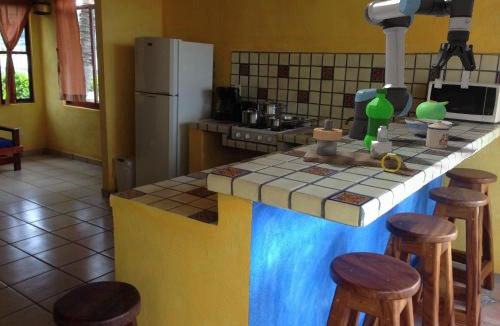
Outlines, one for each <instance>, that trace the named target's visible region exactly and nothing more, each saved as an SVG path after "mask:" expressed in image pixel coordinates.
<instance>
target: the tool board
mask: <svg viewBox="0 0 500 326" xmlns="http://www.w3.org/2000/svg"><path fill="white" fill-rule="evenodd" d="M333 122H334V121H333V120H332V119H324V127H323V128H324V131H332V128H333ZM316 141H317V143H316V148H307V150H306V152H305V154H304V156H303V162H313V163H324V164H338V165H351V166H365V167H374V168H375V167H376V168H377V167H378V168H382V165H381V161H382V160H376V159H371V158H370V152H356V151H354V152H353V151H342V150H338V140H334V141H331V140H320V139H316ZM396 156H397V157H399V159H400V161H401V166H400V168H399V170H401V169H403V170H404V169H405V163H404V160H403V159H402V156H401V155H397V154H396ZM398 163H399V162H398V160H397V159H396V158H395V157H391V159H390V160H384V167H385V168H386V169H388V168H389V169H397V168H398Z"/></svg>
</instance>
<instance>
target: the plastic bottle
mask: <svg viewBox="0 0 500 326" xmlns="http://www.w3.org/2000/svg"><path fill="white" fill-rule="evenodd" d="M375 89H376V93H377V98H375V99H374V100H372V101H371V102H370V103H369V104H368V105H367V107H366V114H367V116H368V117H369V119H368V130H367V135H366V137H365V139H364V140H363V144H364V147H365V148H366V149H367V150H368V151H369V152H370V149H371V141H372V140H377V137H378V129H379V128H380V126H386V129H388V131H387V141H390V139H389V136H388V135H389V133H388V132H389V125H390V118H391V117H393V116H392V115H393V111H394V108H393V105H392V104H391V103H390V102H389V101H388V100H387V99H386V98H385V94H387V89H382V88H375Z"/></svg>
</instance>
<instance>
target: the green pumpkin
mask: <svg viewBox="0 0 500 326" xmlns="http://www.w3.org/2000/svg"><path fill="white" fill-rule="evenodd" d="M447 104H449V101H444V102H443V101H442V102H438V101H434V100H431V99H429V100H428V101H424V102H422V103H420V104H419V105H418V106H417V107H416V109H415V114H416V117H417V119H432V120H442V121H444V119H445V118H446V115H447V109H446V107H445V105H447Z"/></svg>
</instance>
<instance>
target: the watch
mask: <svg viewBox="0 0 500 326" xmlns="http://www.w3.org/2000/svg"><path fill="white" fill-rule="evenodd" d="M396 155H397V153H392V152H391V153H388V154H387V155H386V156H384V157H383V159H382V161H381V165H382V167H381V168H382V169H383V170H384V171H385V172H391V173H395V172H397V171H399V170H400V166H401V161H400V159H399V157H397V156H396ZM387 156H390V157H395V158H396V159H397V160H398V162H399V163H398V168H396V169H395V170H392V169H388V168H387V167H384V159H385V158H386V157H387Z"/></svg>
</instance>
